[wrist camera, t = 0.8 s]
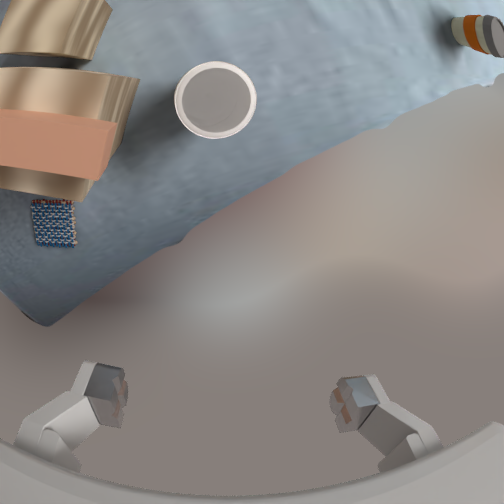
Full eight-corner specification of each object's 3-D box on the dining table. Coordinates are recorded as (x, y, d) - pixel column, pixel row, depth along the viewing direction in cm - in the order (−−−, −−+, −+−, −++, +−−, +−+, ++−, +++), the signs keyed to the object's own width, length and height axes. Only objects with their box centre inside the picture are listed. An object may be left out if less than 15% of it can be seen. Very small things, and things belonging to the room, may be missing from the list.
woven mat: (75, 197, 46) (72, 202, 45) (78, 243, 52) (76, 249, 50) (32, 197, 42) (28, 201, 41) (37, 241, 48) (35, 246, 46)
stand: (44, 131, 36) (-37, 182, 16) (59, 67, 31) (-25, 69, 11) (121, 143, 43) (82, 202, 23) (140, 79, 38) (109, 75, 17)
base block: (36, 56, 28) (-9, 53, 15) (55, 6, 23) (18, -13, 11) (91, 60, 33) (59, 52, 20) (112, 9, 28) (90, -18, 16)
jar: (160, 96, 41) (157, 101, 29) (204, 56, 39) (219, 45, 27) (202, 134, 47) (215, 155, 35) (244, 96, 45) (273, 103, 33)
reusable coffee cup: (453, 51, 45) (496, 60, 33) (442, 11, 37) (486, 14, 26) (473, 49, 45) (512, 58, 33) (463, 12, 37) (503, 17, 25)
